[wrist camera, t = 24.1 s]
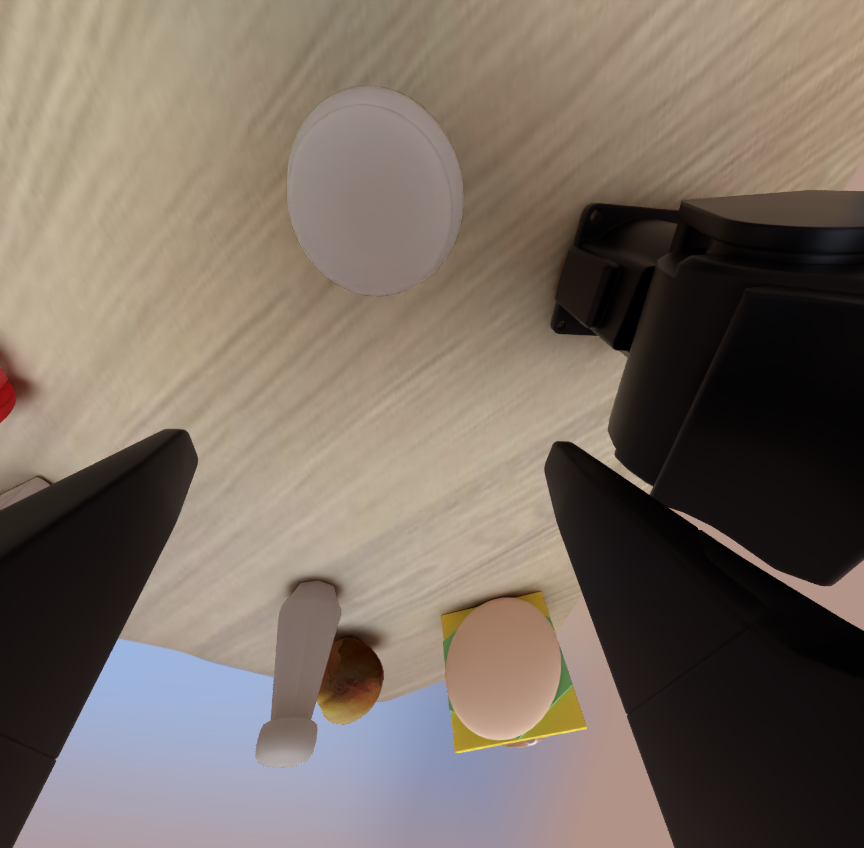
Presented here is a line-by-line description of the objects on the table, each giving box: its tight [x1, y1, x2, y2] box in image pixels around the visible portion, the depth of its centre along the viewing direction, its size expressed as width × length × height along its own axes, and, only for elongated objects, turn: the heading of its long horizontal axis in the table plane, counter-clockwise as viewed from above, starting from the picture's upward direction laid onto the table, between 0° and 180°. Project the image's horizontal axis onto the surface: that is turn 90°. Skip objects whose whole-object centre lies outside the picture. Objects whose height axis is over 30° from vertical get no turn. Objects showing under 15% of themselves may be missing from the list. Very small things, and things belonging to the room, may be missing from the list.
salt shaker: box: [255, 580, 341, 768], centre depth 31 cm, size 6×6×13 cm
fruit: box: [316, 637, 384, 725], centre depth 40 cm, size 8×8×8 cm
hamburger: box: [441, 592, 587, 753], centre depth 37 cm, size 12×8×12 cm
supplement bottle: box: [287, 86, 464, 296], centre depth 12 cm, size 5×5×10 cm
